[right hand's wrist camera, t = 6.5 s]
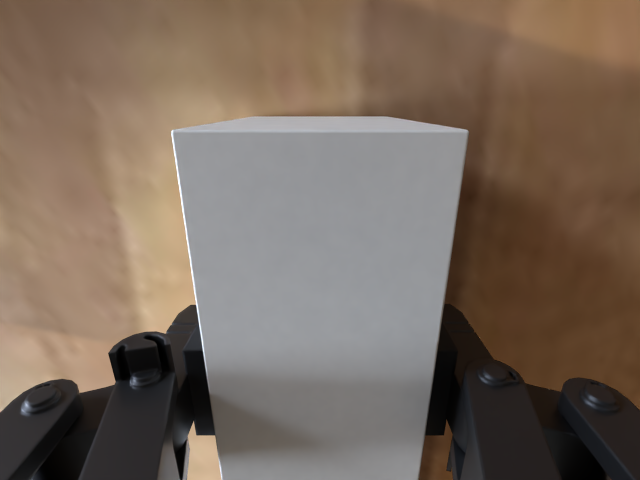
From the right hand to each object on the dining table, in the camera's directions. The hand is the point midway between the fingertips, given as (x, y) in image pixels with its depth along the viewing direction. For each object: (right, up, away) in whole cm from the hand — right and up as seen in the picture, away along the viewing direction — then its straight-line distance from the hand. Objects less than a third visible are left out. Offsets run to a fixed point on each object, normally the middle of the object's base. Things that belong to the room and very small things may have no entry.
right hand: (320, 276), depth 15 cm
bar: (0, -18, +8) cm, 20 cm away
